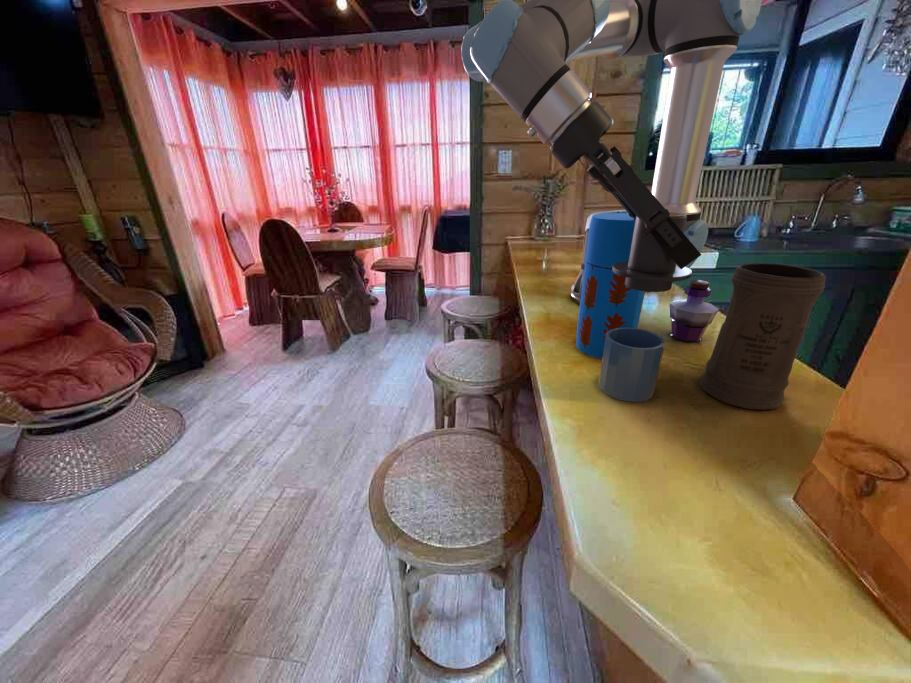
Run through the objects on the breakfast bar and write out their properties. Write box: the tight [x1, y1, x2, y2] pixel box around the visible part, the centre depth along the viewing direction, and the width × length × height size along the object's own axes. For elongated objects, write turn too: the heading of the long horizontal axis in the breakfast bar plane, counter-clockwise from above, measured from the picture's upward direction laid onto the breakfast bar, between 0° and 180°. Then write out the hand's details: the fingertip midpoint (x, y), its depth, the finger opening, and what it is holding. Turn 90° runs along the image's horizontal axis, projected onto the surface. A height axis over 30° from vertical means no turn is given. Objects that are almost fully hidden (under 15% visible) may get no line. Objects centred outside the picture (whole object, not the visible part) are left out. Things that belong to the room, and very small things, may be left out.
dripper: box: [612, 212, 693, 293], centre depth 51 cm, size 10×10×10 cm
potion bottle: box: [669, 279, 720, 343], centre depth 76 cm, size 9×9×12 cm
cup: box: [598, 327, 666, 403], centre depth 59 cm, size 8×8×9 cm
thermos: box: [575, 213, 646, 360], centre depth 69 cm, size 11×11×25 cm
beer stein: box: [699, 262, 827, 411], centre depth 57 cm, size 15×11×20 cm
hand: (682, 255), depth 51 cm, fingers closed on dripper, 6 cm apart
